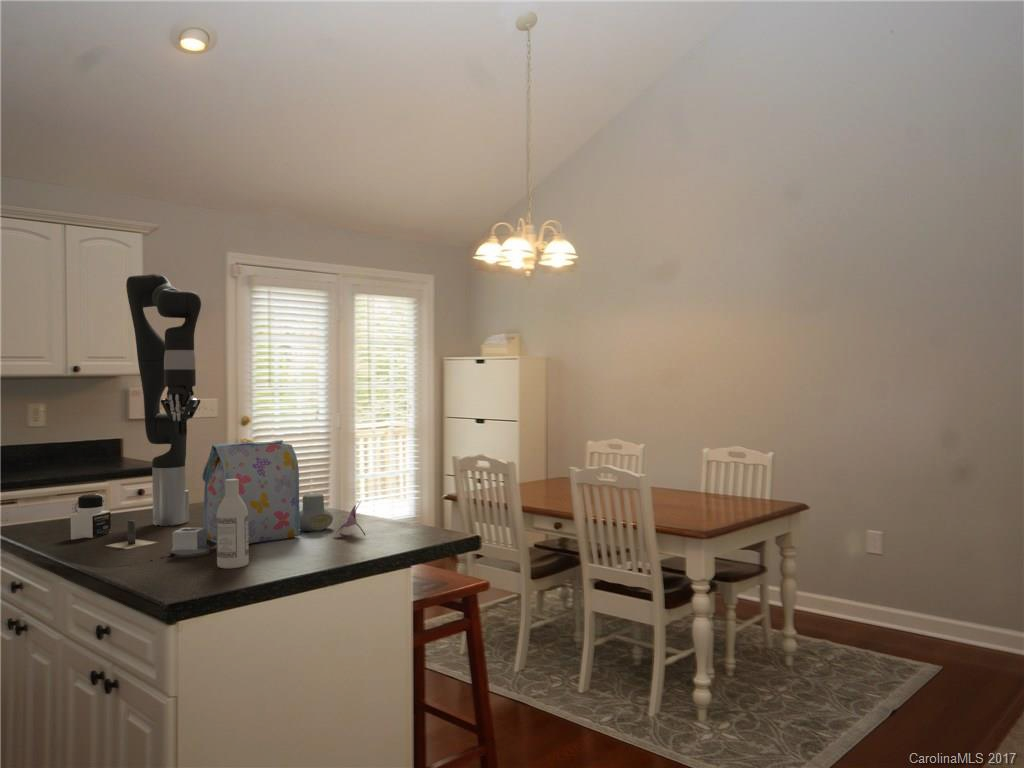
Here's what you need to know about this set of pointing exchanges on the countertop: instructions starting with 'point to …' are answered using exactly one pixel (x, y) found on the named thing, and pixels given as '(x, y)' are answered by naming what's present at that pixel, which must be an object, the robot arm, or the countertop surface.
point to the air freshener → (314, 514)
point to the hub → (190, 552)
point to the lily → (350, 520)
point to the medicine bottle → (90, 518)
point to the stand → (131, 539)
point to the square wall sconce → (189, 538)
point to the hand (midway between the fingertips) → (180, 435)
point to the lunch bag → (255, 487)
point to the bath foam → (232, 529)
